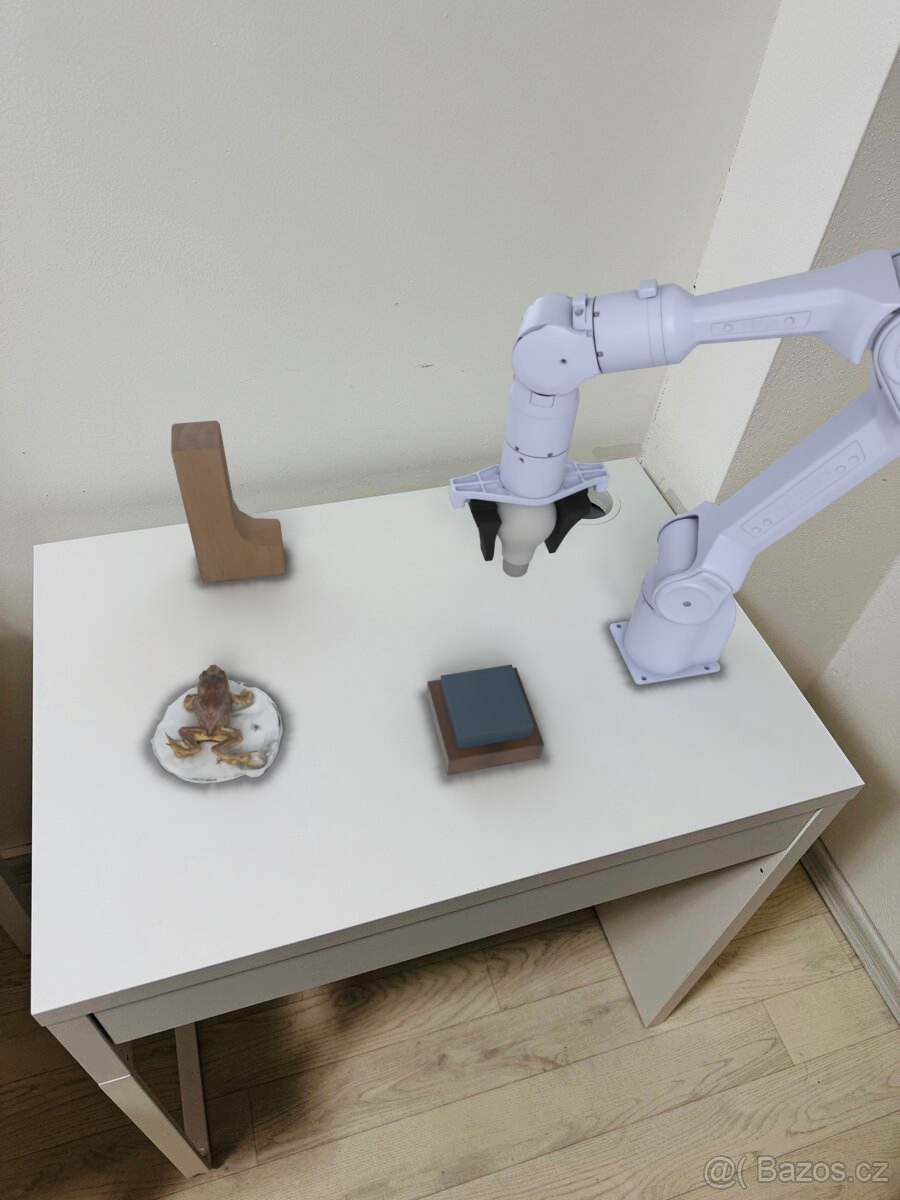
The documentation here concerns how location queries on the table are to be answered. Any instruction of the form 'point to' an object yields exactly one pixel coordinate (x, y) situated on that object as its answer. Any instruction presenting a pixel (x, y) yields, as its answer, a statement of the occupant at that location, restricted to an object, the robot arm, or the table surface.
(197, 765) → the frog figurine
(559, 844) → the table surface
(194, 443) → the wooden block
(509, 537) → the lightbulb
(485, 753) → the base block
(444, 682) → the top block
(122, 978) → the table surface
